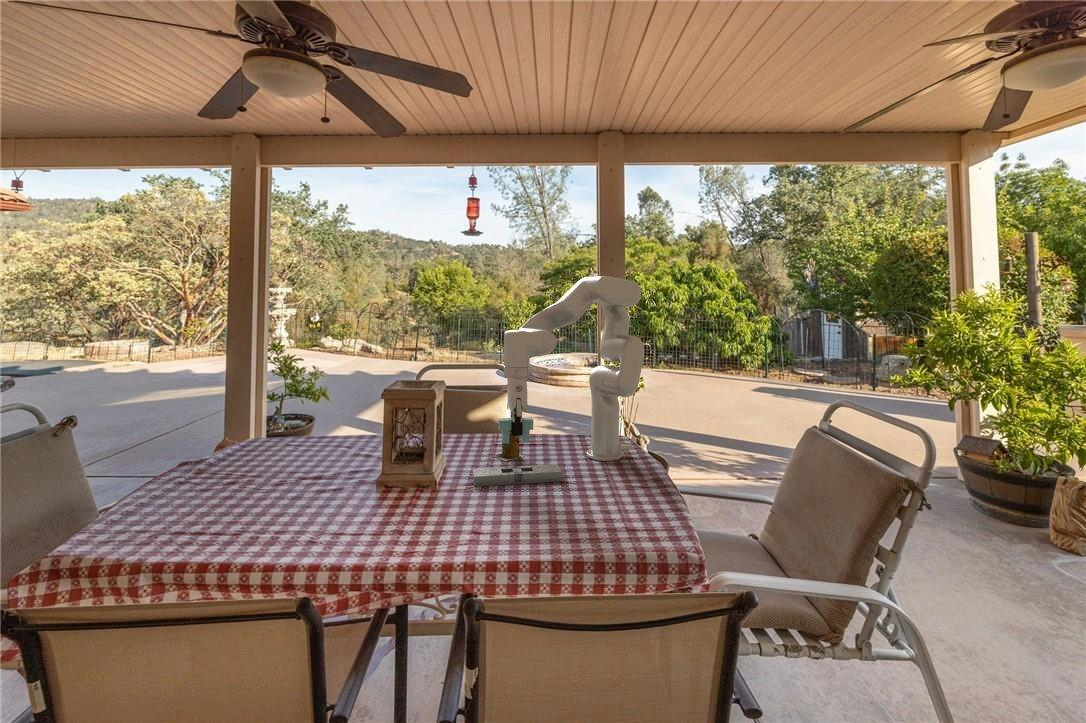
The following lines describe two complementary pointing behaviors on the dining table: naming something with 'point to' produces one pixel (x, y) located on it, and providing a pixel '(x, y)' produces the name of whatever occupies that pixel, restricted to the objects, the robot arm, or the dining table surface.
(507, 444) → the condiment
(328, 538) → the dining table surface
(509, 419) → the clip
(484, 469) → the rail
